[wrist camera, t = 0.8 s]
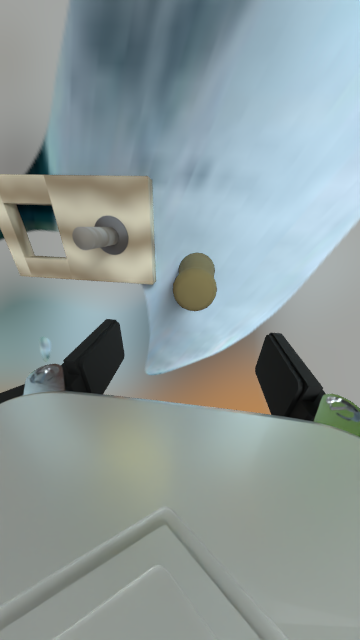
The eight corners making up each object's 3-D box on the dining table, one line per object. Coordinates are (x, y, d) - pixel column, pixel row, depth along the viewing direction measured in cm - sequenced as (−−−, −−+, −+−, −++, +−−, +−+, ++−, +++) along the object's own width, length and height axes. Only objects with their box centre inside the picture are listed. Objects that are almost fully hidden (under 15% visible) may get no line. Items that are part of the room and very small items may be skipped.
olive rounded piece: (207, 293, 30) (210, 324, 20) (174, 283, 30) (162, 310, 20) (220, 258, 27) (230, 275, 17) (183, 248, 27) (173, 259, 17)
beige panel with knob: (-7, 177, 25) (-103, 155, 17) (152, 180, 23) (126, 155, 15) (30, 273, 32) (-26, 288, 24) (155, 281, 30) (139, 300, 22)
